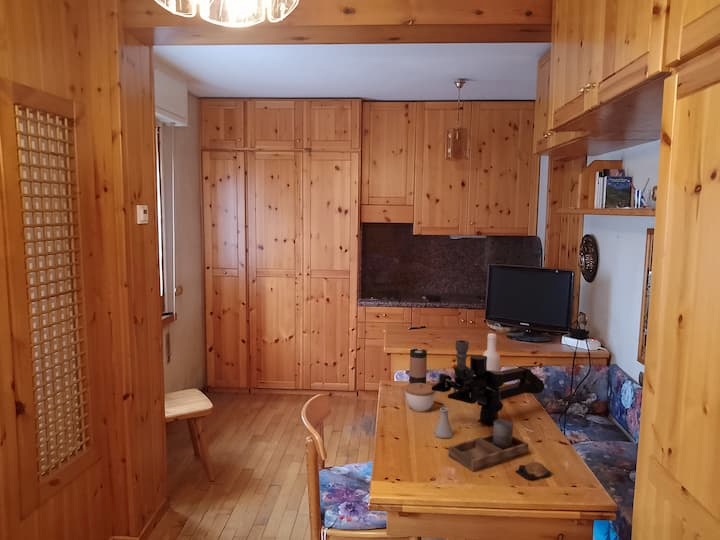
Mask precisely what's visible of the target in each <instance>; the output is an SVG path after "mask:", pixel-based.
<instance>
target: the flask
mask: <svg viewBox="0 0 720 540" xmlns="http://www.w3.org/2000/svg"><path fill="white" fill-rule="evenodd" d="M439 410H440V416H439V420H438V421H437V424H436V426H435V430H434V431H433V435H434V436H435V437H436V438H440V439H452V437H453V436H454V432H453V430H452V427H451V423H450V419H449V415H448V414H449V410H450V408H448V407H440V408H439Z"/></svg>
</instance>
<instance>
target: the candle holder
mask: <svg viewBox="0 0 720 540" xmlns="http://www.w3.org/2000/svg"><path fill="white" fill-rule="evenodd" d="M469 344H470V343H469V341H468V340H464V339H459V340H456V341H455V351H456V354H455V357H456V366H457V365H458V364H463V365H466V366H467V358H468V357H469V356H468V354H467V352H468V351H469V346H470V345H469ZM453 377H454V378H455V377H457V376H456V374H455V373H453ZM453 392H455V389H454V388H453Z"/></svg>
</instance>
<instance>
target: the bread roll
mask: <svg viewBox="0 0 720 540" xmlns="http://www.w3.org/2000/svg"><path fill="white" fill-rule="evenodd" d="M514 473H516V474H517V475H519V476H520V477H521V478H523V479H524V480H527V481H529V482H537V481H540V480H543V479H547V478H550V477H551V476H553V475H555V474H554V472H552V471H551V470H549V469H548V468H547V467H546V466H545V465H544V464H543V463H540V462H539V461H534V462H529V463H526V464H525V465H523V464H520V465H519V466H518V469H517V470H515V471H514Z"/></svg>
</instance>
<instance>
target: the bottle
mask: <svg viewBox="0 0 720 540" xmlns="http://www.w3.org/2000/svg"><path fill="white" fill-rule="evenodd" d="M497 338H498V337H497V334H496V333H491V332H490V333H488V334H487V343H486V344H487V348H486V350H485V351H484V352H483V353H482V356H483V355H484V356H487V370H492V371H501V356H500V353H499V352H498V351H497Z"/></svg>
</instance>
